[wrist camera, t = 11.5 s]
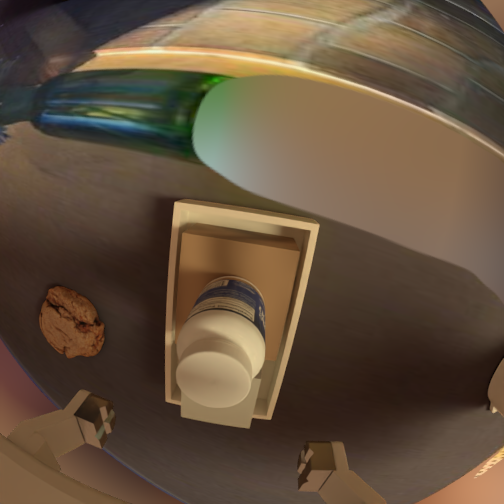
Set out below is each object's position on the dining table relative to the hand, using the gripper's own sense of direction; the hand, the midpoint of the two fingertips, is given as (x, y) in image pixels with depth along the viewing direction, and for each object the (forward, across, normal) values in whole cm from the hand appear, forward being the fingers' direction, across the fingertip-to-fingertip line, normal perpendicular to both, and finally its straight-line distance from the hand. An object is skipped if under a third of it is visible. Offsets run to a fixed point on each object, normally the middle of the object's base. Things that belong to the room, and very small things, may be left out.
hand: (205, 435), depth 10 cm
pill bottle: (+14, +1, 0) cm, 14 cm away
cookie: (+19, +21, +10) cm, 30 cm away
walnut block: (+19, +1, 0) cm, 19 cm away
